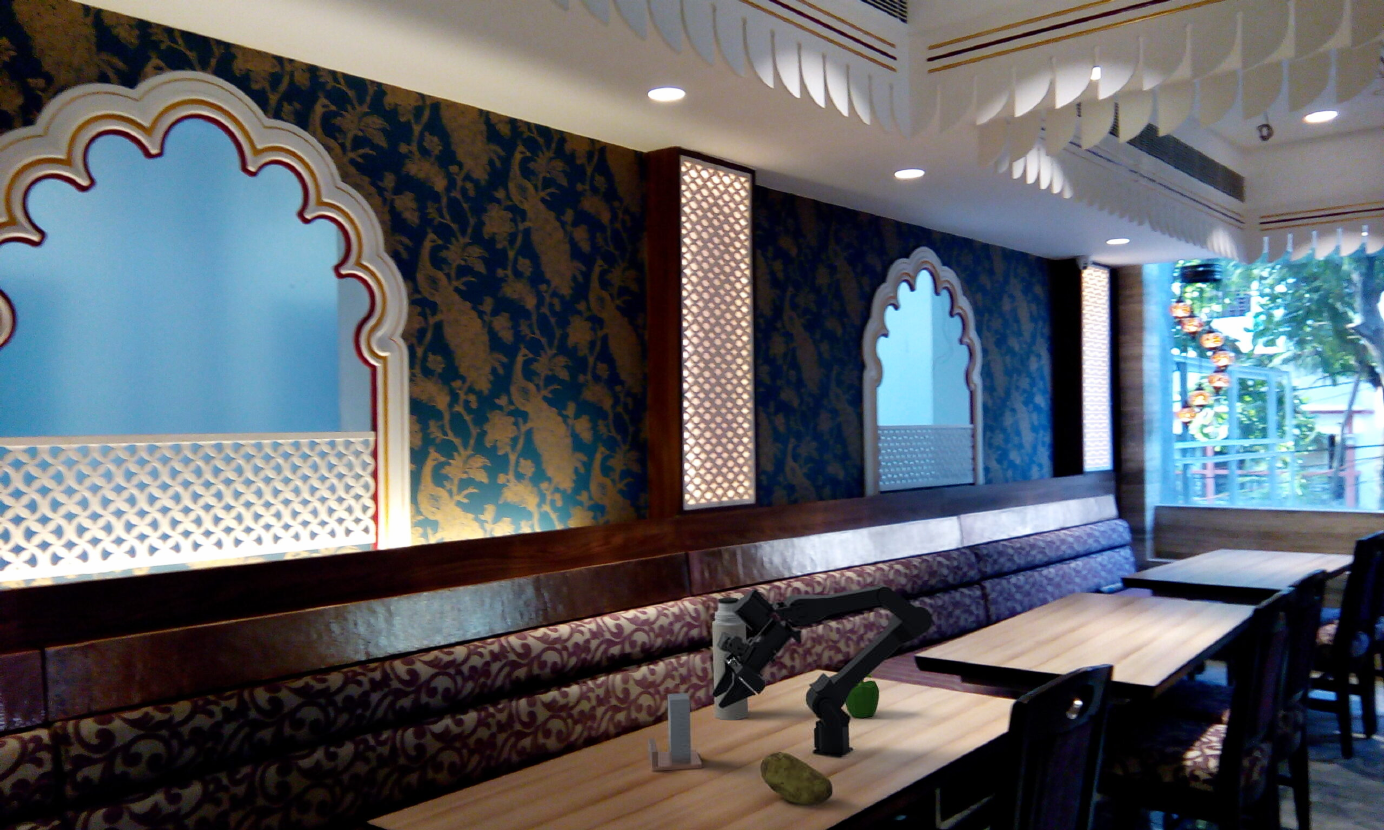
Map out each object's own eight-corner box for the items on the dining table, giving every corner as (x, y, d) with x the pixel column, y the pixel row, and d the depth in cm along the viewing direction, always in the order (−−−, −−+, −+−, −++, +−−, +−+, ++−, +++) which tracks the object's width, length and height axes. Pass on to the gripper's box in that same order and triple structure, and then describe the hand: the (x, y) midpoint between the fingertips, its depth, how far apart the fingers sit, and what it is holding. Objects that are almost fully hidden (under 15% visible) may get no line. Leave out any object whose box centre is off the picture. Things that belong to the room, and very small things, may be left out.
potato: (810, 814, 177) (809, 768, 177) (753, 798, 186) (752, 754, 186) (838, 801, 183) (836, 756, 183) (782, 786, 192) (780, 743, 192)
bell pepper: (838, 717, 239) (836, 675, 239) (851, 709, 246) (850, 668, 246) (871, 722, 234) (870, 678, 235) (884, 713, 241) (883, 671, 242)
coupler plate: (695, 753, 214) (695, 734, 214) (702, 767, 204) (701, 748, 204) (648, 755, 213) (648, 737, 213) (652, 770, 203) (652, 751, 203)
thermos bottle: (722, 709, 248) (719, 595, 249) (752, 712, 245) (749, 596, 246) (709, 718, 241) (706, 599, 242) (740, 721, 238) (737, 601, 239)
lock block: (688, 753, 211) (686, 692, 211) (691, 760, 206) (689, 698, 207) (669, 754, 211) (667, 693, 211) (671, 761, 206) (670, 699, 206)
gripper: (732, 611, 220) (683, 665, 218) (747, 626, 202) (693, 685, 200) (769, 645, 221) (720, 700, 219) (787, 663, 202) (734, 723, 201)
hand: (716, 701), depth 210 cm, fingers open, 9 cm apart
